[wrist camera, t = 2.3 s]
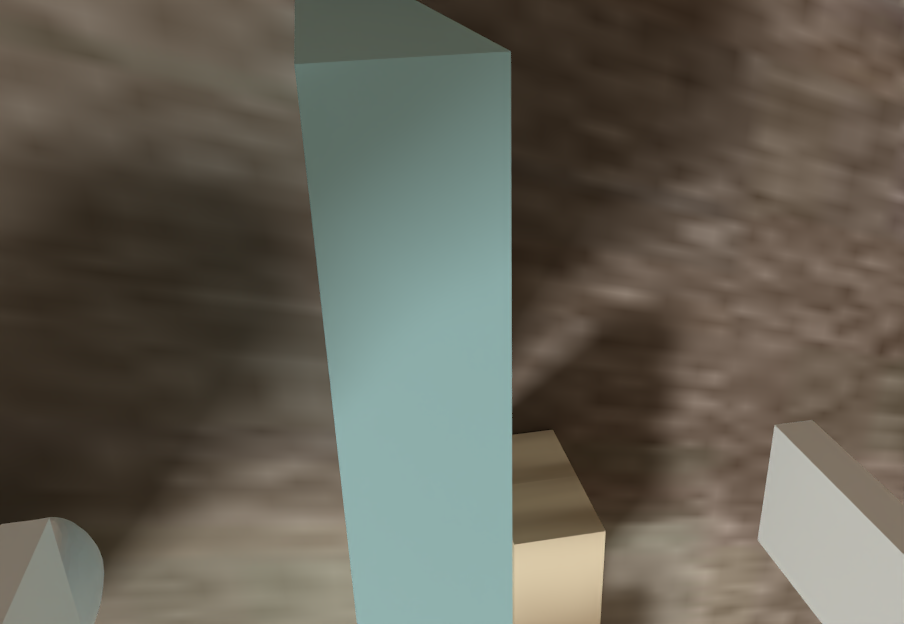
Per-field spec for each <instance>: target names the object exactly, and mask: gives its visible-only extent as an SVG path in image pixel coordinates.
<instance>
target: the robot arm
mask: <svg viewBox="0 0 904 624" xmlns="http://www.w3.org/2000/svg"><path fill="white" fill-rule="evenodd" d="M758 541H759V542H760V544H761V545H762V546H763V548H764V549H765V550H766V551H767V553H768V554H769V555H770V557H771V558H772V559H773V561H774V562H775V563H776V564H777V566H778V567H779V568H780V570H781V571H782V572H783V573H784V575H785V576H786V577H787V579H788V580H789V581H790V583H791V584H792V585H793V586H794V588H795V589H796V590H797V592H798V593H799V594H800V595H801V597H802V598H803V599H804V601H805V602H806V603H807V605H808V606H809V607H810V608H811V610H812V611H813V612H814V614H815V615H816V616H817V618H818V619H819V620H820V621H821V623H822V624H904V504H902V503H901V502H900V501H899V500H898V499H897V498H896V497H895V496H894V495H893V494H892V493H891V492H889V491H888V490H887V489H886V488H885V487H884V486H883V485H882V484H881V483H880V482H879V481H878V480H876V479H875V478H874V477H873V476H872V475H871V474H870V473H869V472H868V471H867V470H866V469H864V468H863V467H862V466H861V465H860V464H859V463H858V462H857V461H856V460H855V459H854V458H853V457H851V456H850V455H849V454H848V453H847V452H846V451H845V450H844V449H843V448H842V447H841V446H840V445H838V444H837V443H836V442H835V441H834V440H833V439H832V438H831V437H830V436H829V435H828V434H827V433H825V432H824V431H823V430H822V429H821V428H820V427H819V426H818V425H817V424H816V423H815V422H814V421H812V420H808V421H801V422H793V423H785V424H777V425H775V427H774V433H773V440H772V447H771V454H770V460H769V467H768V474H767V480H766V487H765V494H764V501H763V507H762V514H761V521H760V528H759V534H758ZM0 624H81V623H80V620H79V616H78V613H77V610H76V606H75V603H74V599H73V596H72V593H71V589H70V586H69V583H68V579H67V576H66V573H65V569H64V566H63V562H62V559H61V556H60V552H59V549H58V546H57V542H56V539H55V535H54V532H53V529H52V525H51V522H50V519H49V518H45V519H37V520H29V521H21V522H14V523H6V524H1V525H0Z"/></svg>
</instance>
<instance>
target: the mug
mask: <svg viewBox="0 0 904 624" xmlns="http://www.w3.org/2000/svg"><path fill="white" fill-rule="evenodd" d="M47 518H49V519H50V522H51V525H52V529H53V532H54V535H55V539H56V542H57V546H58V549H59V552H60V556H61V559H62V562H63V566H64V569H65V573H66V576H67V579H68V583H69V586H70V589H71V593H72V596H73V599H74V603H75V606H76V610H77V613H78V616H79V620H80V623H81V624H94V623H95V620H96V617H97V614H98V610H99V607H100V603H101V598H102V591H103V582H104V566H103V559H102V556H101V553H100V551H99V548H98V546H97V545H96V543H95V542H94V541H93V539H92V538H91V537H90V536H89V534H88V533H87V532H86V531H84V530H83V529H82V528H80V527H79V526H78V525H76V524H75V523H73V522H71V521H69V520H67V519H64V518H59V517H47ZM42 519H45V518H42Z"/></svg>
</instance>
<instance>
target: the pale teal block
mask: <svg viewBox="0 0 904 624" xmlns="http://www.w3.org/2000/svg"><path fill="white" fill-rule="evenodd" d="M295 73H296V82H297V91H298V100H299V109H300V118H301V127H302V136H303V145H304V154H305V163H306V172H307V180H308V189H309V198H310V207H311V216H312V225H313V234H314V243H315V252H316V261H317V270H318V279H319V288H320V297H321V306H322V315H323V324H324V332H325V341H326V350H327V359H328V368H329V377H330V386H331V395H332V404H333V413H334V422H335V431H336V440H337V449H338V458H339V467H340V476H341V484H342V493H343V502H344V511H345V520H346V529H347V538H348V547H349V556H350V565H351V574H352V583H353V592H354V601H355V610H356V619H357V624H513V600H512V262H511V51H509V50H507V49H506V48H504V47H502V46H500V45H498V44H496V43H494V42H493V41H491V40H489V39H487V38H485V37H483V36H481V35H479V34H478V33H476V32H474V31H472V30H470V29H468V28H466V27H465V26H463V25H461V24H459V23H457V22H455V21H453V20H451V19H450V18H448V17H446V16H444V15H442V14H440V13H438V12H437V11H435V10H433V9H431V8H429V7H427V6H425V5H424V4H422V3H420V2H418V1H416V0H295Z"/></svg>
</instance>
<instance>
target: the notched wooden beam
mask: <svg viewBox="0 0 904 624" xmlns="http://www.w3.org/2000/svg"><path fill="white" fill-rule="evenodd" d="M605 534H606V531H605V529H604V527H603V525H602V523H601V521H600V519H599V517H598V516H597V514H596V512H595V510H594V508H593V506H592V504H591V502H590V500H589V498H588V496H587V494H586V493H585V491H584V489H583V487H582V485H581V483H580V481H579V479H578V477H577V475H576V473H575V471H574V469H573V468H572V466H571V464H570V462H569V460H568V458H567V456H566V454H565V452H564V450H563V448H562V446H561V445H560V443H559V441H558V439H557V437H556V435H555V433H554V431H553V430H546V431H538V432H530V433H522V434H514V435H512V600H513V624H600V619H601V602H602V585H603V568H604V551H605Z"/></svg>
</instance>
